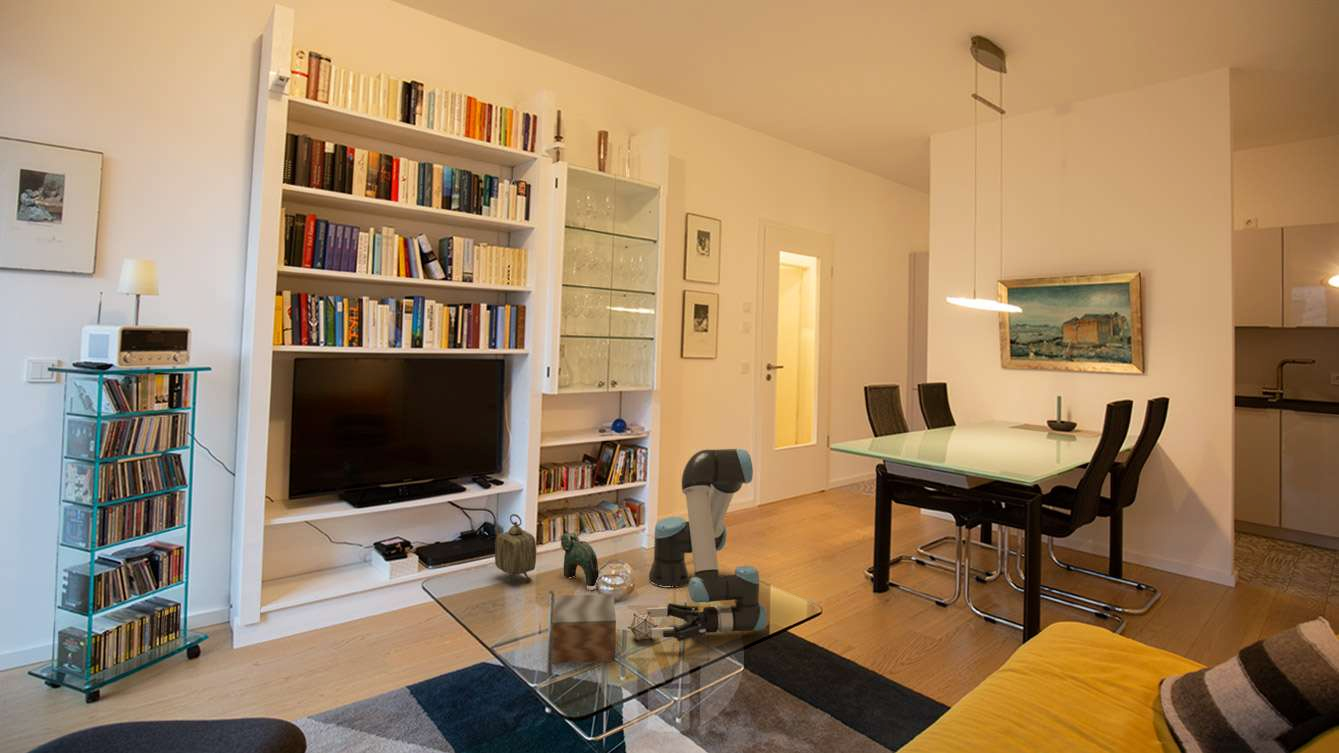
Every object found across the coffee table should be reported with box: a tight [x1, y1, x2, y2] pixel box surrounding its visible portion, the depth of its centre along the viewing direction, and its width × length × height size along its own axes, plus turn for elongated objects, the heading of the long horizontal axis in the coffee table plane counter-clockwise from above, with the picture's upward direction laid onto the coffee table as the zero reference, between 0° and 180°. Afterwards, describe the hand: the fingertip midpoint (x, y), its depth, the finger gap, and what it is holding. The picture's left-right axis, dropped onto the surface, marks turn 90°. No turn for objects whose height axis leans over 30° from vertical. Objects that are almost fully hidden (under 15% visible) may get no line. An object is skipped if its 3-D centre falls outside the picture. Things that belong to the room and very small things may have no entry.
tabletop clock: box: [494, 513, 537, 583], centre depth 239 cm, size 14×9×25 cm, turn 48°
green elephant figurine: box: [560, 528, 600, 586], centre depth 239 cm, size 20×6×20 cm, turn 42°
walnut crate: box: [551, 593, 617, 664], centre depth 192 cm, size 18×18×12 cm
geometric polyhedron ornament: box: [627, 612, 659, 643], centre depth 197 cm, size 9×8×10 cm
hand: (649, 622), depth 197 cm, fingers open, 13 cm apart
